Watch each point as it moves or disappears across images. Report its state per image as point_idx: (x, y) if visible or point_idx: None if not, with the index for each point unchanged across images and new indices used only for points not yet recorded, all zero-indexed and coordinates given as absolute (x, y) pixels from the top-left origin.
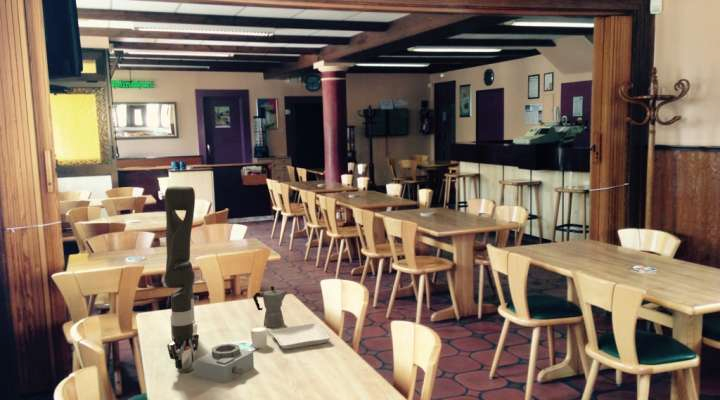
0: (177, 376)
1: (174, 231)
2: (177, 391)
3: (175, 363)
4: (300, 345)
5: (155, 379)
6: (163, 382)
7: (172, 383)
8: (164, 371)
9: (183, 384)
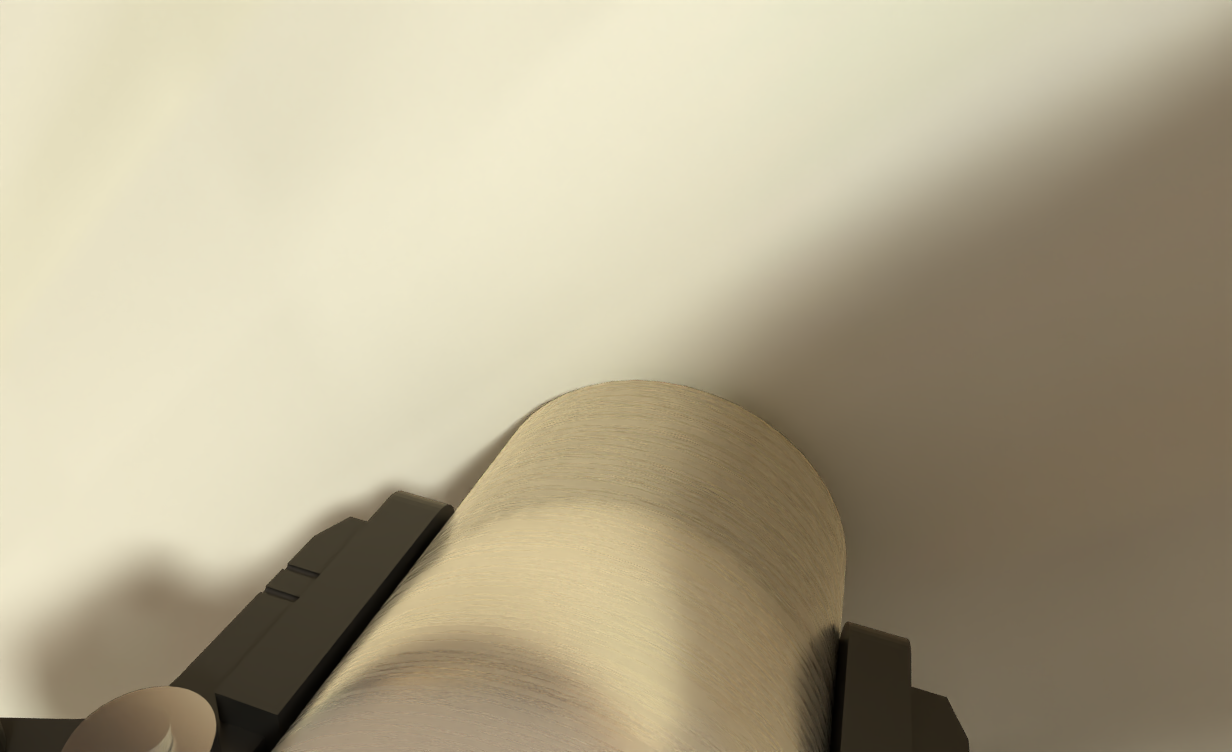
0: (357, 504)
1: None
2: (22, 713)
3: (255, 606)
4: None
5: (16, 137)
6: (47, 392)
7: (118, 555)
8: (434, 6)
9: None
